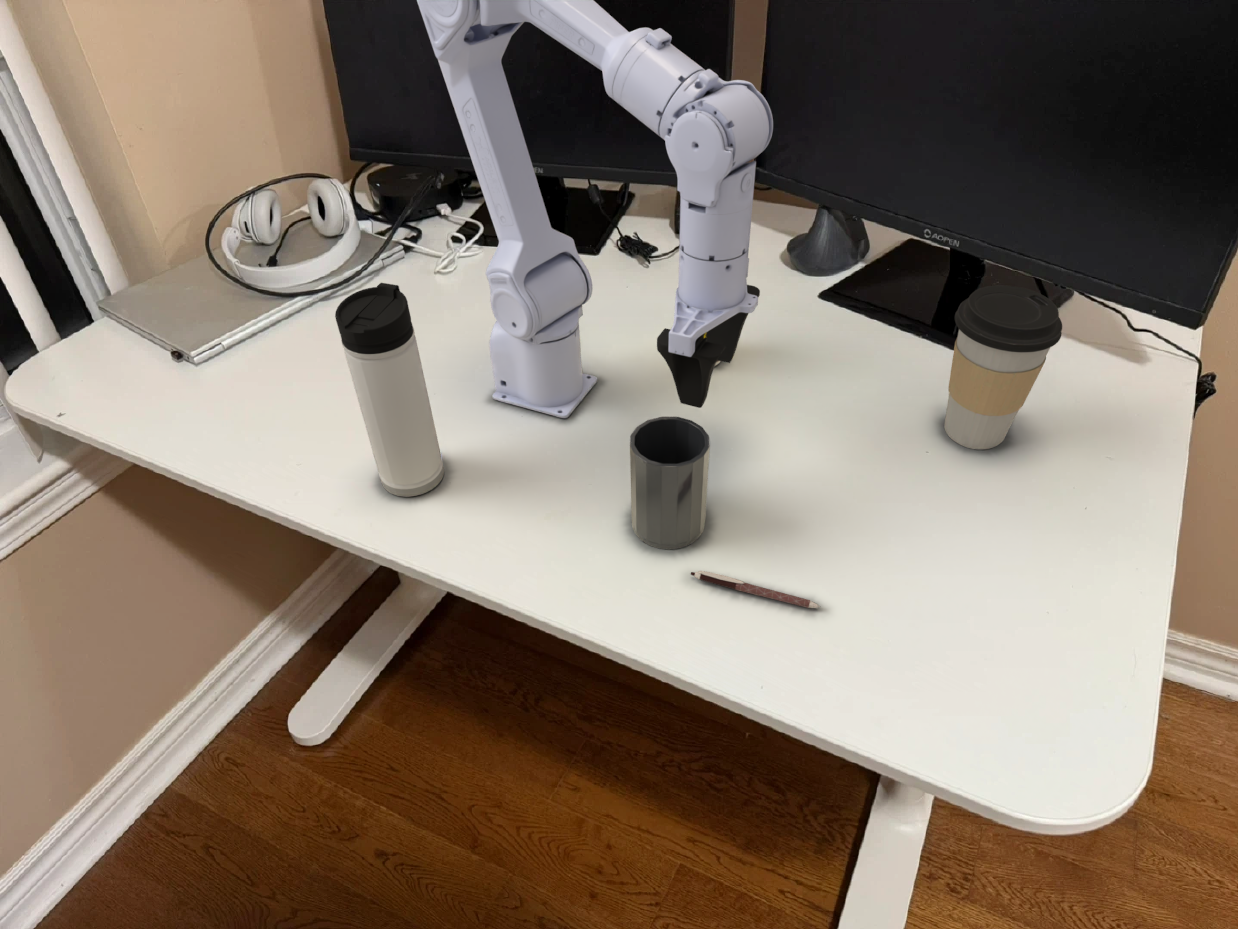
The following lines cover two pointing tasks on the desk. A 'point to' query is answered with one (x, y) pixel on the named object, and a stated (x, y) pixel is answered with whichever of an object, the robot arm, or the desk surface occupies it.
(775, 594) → the pen
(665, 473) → the pen cup
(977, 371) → the coffee cup
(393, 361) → the travel mug
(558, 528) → the desk surface
